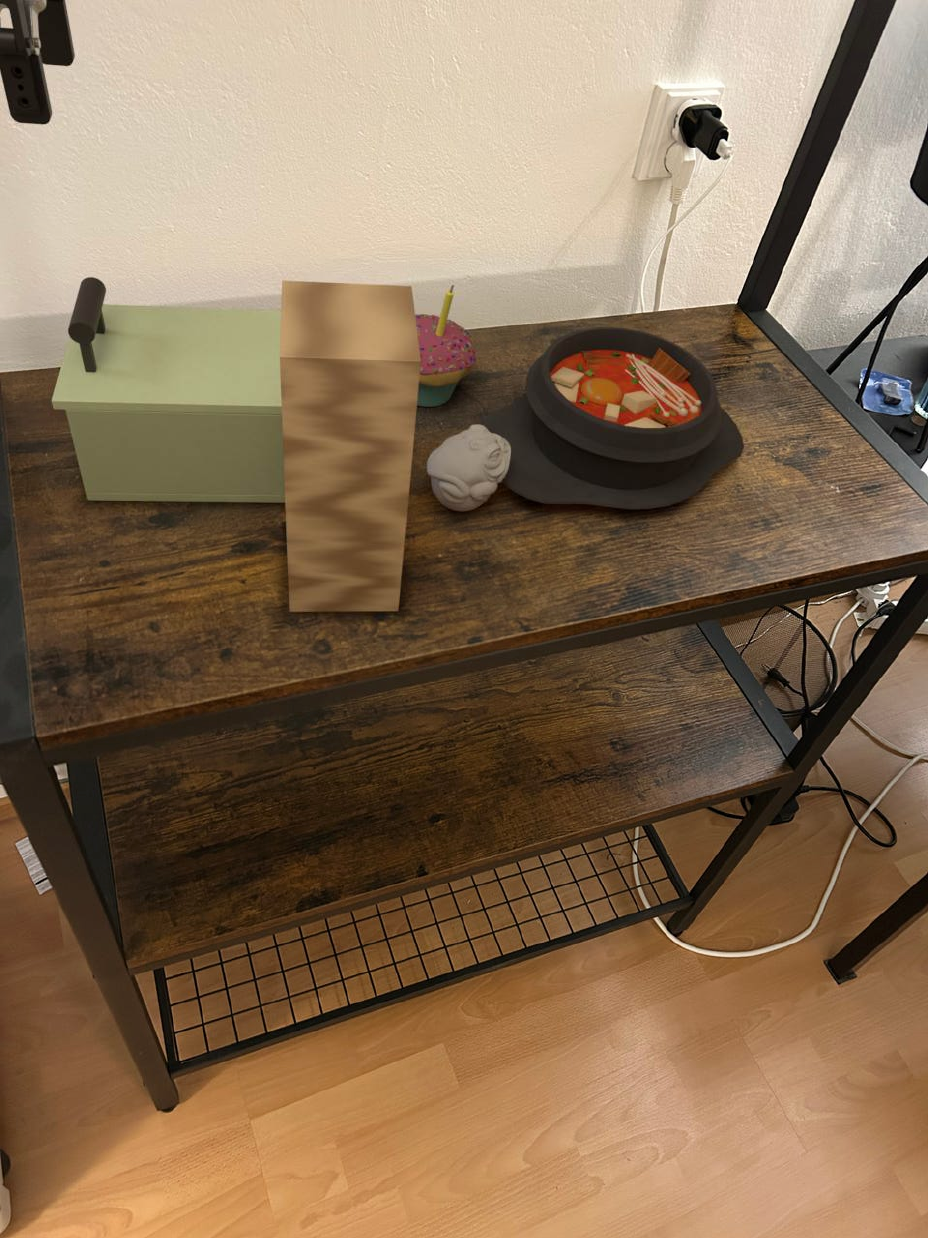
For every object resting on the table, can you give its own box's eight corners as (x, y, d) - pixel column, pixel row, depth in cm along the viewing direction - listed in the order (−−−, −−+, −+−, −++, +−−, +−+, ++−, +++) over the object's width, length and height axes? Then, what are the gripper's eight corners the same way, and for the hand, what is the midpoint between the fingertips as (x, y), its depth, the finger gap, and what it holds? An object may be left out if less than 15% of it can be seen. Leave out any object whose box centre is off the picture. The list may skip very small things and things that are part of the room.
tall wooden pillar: (289, 612, 71) (279, 356, 55) (290, 535, 76) (282, 279, 60) (398, 611, 72) (421, 360, 56) (392, 535, 77) (411, 285, 61)
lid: (53, 409, 69) (37, 348, 66) (80, 311, 78) (67, 252, 74) (285, 414, 72) (283, 356, 68) (288, 319, 80) (286, 262, 76)
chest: (87, 500, 76) (65, 409, 70) (108, 401, 84) (90, 312, 78) (288, 503, 79) (285, 415, 72) (290, 406, 87) (288, 319, 80)
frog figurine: (515, 517, 80) (528, 451, 75) (438, 536, 78) (446, 469, 73) (483, 471, 84) (494, 405, 79) (409, 487, 81) (415, 420, 76)
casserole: (667, 371, 97) (691, 296, 90) (778, 491, 86) (814, 415, 80) (439, 416, 88) (448, 336, 82) (533, 556, 78) (551, 476, 71)
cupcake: (488, 396, 91) (506, 280, 82) (424, 433, 86) (437, 313, 77) (423, 354, 94) (434, 237, 85) (359, 387, 90) (363, 267, 81)
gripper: (-72, -296, 51) (4, 42, 63) (-155, -245, 42) (-47, 138, 54) (77, -277, 52) (123, 51, 64) (28, -223, 43) (93, 147, 55)
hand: (45, 90), depth 59 cm, fingers open, 8 cm apart
